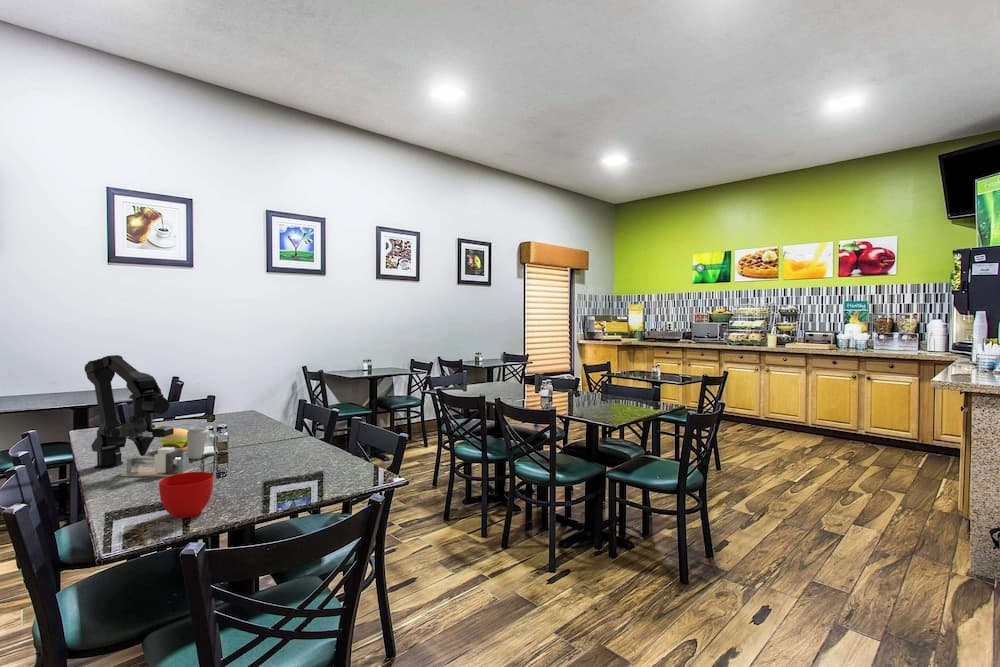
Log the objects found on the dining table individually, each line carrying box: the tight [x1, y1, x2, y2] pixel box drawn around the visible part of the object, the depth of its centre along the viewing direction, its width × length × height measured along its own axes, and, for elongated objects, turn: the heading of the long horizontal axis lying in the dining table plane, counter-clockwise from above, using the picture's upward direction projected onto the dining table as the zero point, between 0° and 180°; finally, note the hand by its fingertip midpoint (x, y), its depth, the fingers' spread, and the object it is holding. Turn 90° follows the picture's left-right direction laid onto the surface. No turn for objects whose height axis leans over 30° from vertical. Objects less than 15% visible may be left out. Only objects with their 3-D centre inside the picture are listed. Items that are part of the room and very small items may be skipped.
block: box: [166, 449, 184, 473], centre depth 180 cm, size 2×7×6 cm, turn 0°
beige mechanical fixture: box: [119, 455, 195, 478], centre depth 180 cm, size 20×9×5 cm, turn 90°
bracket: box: [154, 447, 175, 473], centre depth 180 cm, size 4×6×8 cm, turn 0°
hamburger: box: [159, 428, 189, 452], centre depth 212 cm, size 12×12×9 cm
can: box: [186, 425, 210, 460], centre depth 200 cm, size 8×8×12 cm
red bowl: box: [158, 471, 214, 519], centre depth 144 cm, size 13×17×10 cm
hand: (142, 455), depth 180 cm, fingers closed
